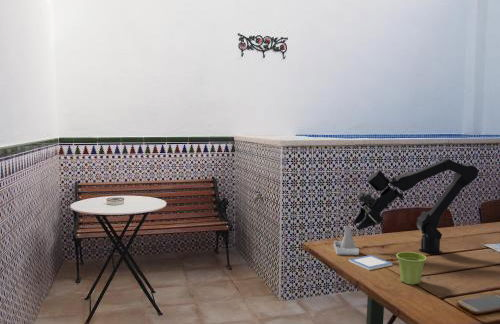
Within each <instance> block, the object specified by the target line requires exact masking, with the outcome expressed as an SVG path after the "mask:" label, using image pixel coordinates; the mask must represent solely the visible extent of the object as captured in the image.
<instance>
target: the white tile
mask: <svg viewBox="0 0 500 324" xmlns="http://www.w3.org/2000/svg"><path fill="white" fill-rule="evenodd" d="M348 263H352V264H353V265H356V266H358V267H360V268H363V269H365V270H367V271H371V270H377V269H381V268H386V267H391V266H393V262H390V261H388V260H385V259H382V258H381V257H377V256H374V255H372V254H369V255H365V256H364V255H363V256H359V257H355V258H348Z"/></svg>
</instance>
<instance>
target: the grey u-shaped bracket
mask: <svg viewBox="0 0 500 324" xmlns="http://www.w3.org/2000/svg"><path fill="white" fill-rule="evenodd" d="M353 241H354V244H355V245H356V243H355V242H356V241H355V240H353ZM341 243H342V240H333V249H334V251H335V253H336V255H340V256H359V255H360V251H359V250H360V249H359V247H356V248H340V246H341Z"/></svg>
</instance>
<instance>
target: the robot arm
mask: <svg viewBox="0 0 500 324" xmlns="http://www.w3.org/2000/svg"><path fill="white" fill-rule="evenodd" d="M445 171H451V172H454V175H453V177H452V181H451V182H450V184H449V186H448V187H447V188H446V189H445V191H444V192H443V193H442V194H441V196H440V197H439V199H438V200H437V201H436V202H435V203H434V205H433V206H432V208H431V209H430V210H428V211H425V210H423V211H422V212H421V213H420V215H419V216H418V217H417V221H416V227H417V229H418V230H419V231H421V234H422V235H421V240H420V241H421V242H420V244H421V245H420V248H419V249H418V251H420V252H422V253H426V254H429V255H436V254H441V253H443V250H441V249H440V248H441V246H440V245H441V239H442V236H443V234H442V232H441V231H440V230H438V227H439V225H440V222H441V218H442V216H443V215H444V214H445V212H446V211H447V210H448V208H449V207H450V206H451V205H452V203H453V202H454V201H455V199H456V198H457V196H459V194H460V193H461V191H462V190H463V189H464V188H465V187H467V186H469V185H470V184H472V182H473V181H475V180H476V179H477V177H478V176H479V169H478V168H477V166H474V165H472V164H467V163H462V164H461V163H458V162H456V161H453V160H452V159H449V158H442V159H441V160H440V161H437V162H434V163H432V164H430V165H428V166H425V167H423V168H420V169H419V170H416V171H413V172H406V173H401V174H398V175H396V176H395V177H391V178H390V177H389V178H388V177H386V175H384V173H383V171H381V170H379V169H378V170H377V171H376V172H374V173H372V174H371V175H370V176H368V177H367V179H366V182H367V183H368V185H369V186H371V188H372V189H373V190H374V191H375V192H380V193H379V194H378V195H374V196H372V194H371V193H368V192H367V193H366V192H363V191H360V192H359V194H358V196H357V200H358V201H359V202H361V203H360V204H359V212H358V214H357V215H356V217H355V218H354V220H353V224H354V225H357V224H358V225H357V227H356V229H357V231H361V230H363V229H366V228H369V227H373V226H377V225H381V223H383V219H384V218H383V217H382V214H381V213H382V212H384V211H385V210H388V209H389V207H390V205H391V204H392V203H393V202H394V201H396V200H397V199H399V200H401V201H404V193H403V192H408V191H409V190H411V189H412V188H414V187H415V186H417V185H418V184H419V183H420V182H423V181H425V180H427V179H430V178H431V177H434V176H437V175H439V174H441V173H444V172H445ZM390 185H391V186H392V187H391V186H390ZM401 191H402V192H401Z"/></svg>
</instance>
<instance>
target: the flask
mask: <svg viewBox="0 0 500 324" xmlns="http://www.w3.org/2000/svg"><path fill="white" fill-rule="evenodd" d="M343 228H344V233H343V234H344V235H343V238H342V240H341V241H342V243H341V246H340V247H339V248H357V247H356V243H355V244H354V241H355V240H354V238H353V234H352V233H353V232H352V229H353V226H351V225H344V227H343Z"/></svg>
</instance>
